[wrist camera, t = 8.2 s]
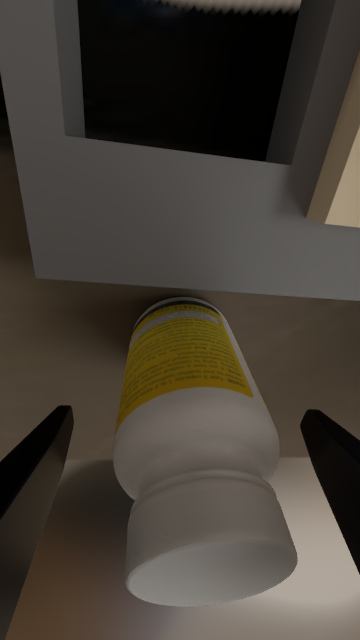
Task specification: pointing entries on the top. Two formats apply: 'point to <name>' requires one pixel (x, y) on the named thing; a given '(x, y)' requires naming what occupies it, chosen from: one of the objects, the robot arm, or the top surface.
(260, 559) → the supplement bottle
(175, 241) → the board
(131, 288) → the top surface
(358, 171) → the lid
